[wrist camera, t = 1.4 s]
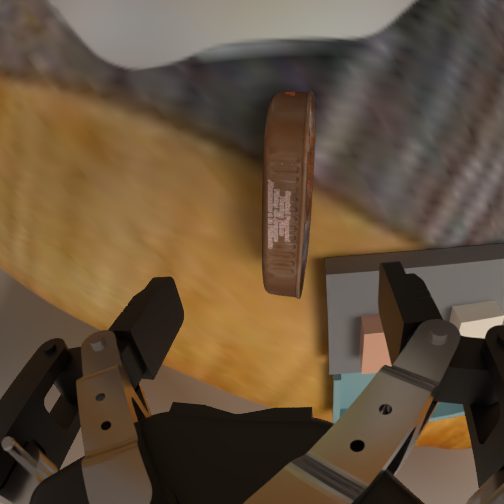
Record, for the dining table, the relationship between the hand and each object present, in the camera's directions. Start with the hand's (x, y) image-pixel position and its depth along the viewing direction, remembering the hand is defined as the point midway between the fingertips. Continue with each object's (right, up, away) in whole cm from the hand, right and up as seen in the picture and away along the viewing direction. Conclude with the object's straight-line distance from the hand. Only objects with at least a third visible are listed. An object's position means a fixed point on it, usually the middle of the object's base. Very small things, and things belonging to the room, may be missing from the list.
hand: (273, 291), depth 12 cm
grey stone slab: (+16, -4, +17) cm, 24 cm away
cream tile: (+20, -6, +14) cm, 25 cm away
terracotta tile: (+12, -6, +16) cm, 20 cm away
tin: (+3, +7, +14) cm, 16 cm away
